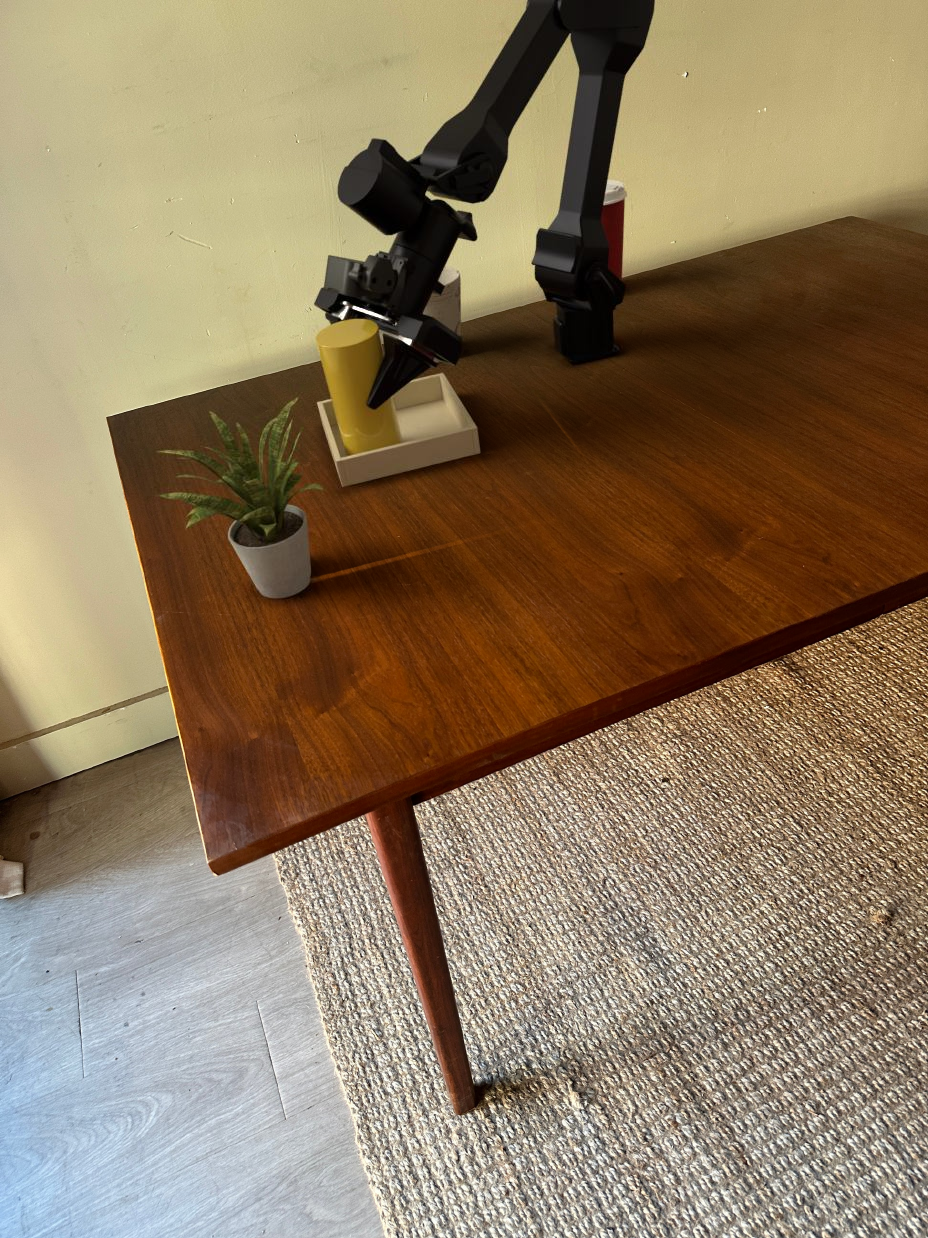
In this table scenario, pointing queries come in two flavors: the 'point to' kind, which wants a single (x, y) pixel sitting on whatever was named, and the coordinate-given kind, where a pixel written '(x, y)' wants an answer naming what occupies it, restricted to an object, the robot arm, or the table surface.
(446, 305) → the mug
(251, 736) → the table surface
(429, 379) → the white rectangular tray
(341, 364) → the yellow cylinder
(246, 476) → the house plant
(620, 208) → the paper cup
